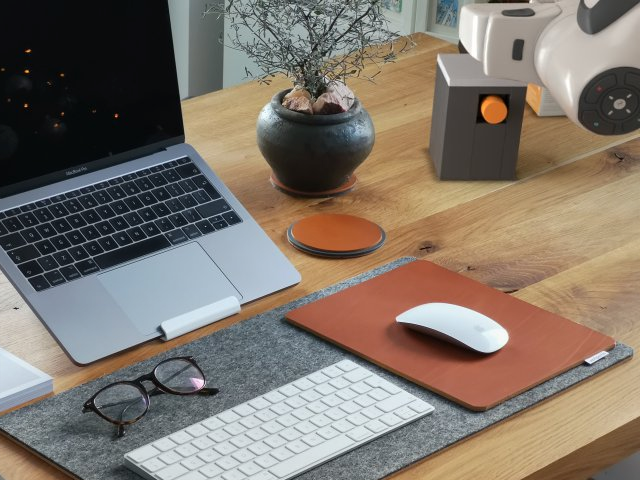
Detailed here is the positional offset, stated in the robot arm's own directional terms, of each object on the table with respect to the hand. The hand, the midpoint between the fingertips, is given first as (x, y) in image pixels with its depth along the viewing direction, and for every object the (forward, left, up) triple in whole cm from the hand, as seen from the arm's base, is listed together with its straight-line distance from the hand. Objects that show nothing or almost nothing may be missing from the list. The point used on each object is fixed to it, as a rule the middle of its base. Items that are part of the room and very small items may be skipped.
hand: (542, 5), depth 123 cm
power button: (+1, -12, -18) cm, 22 cm away
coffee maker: (+2, -17, -27) cm, 32 cm away
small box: (-14, -39, -27) cm, 50 cm away
